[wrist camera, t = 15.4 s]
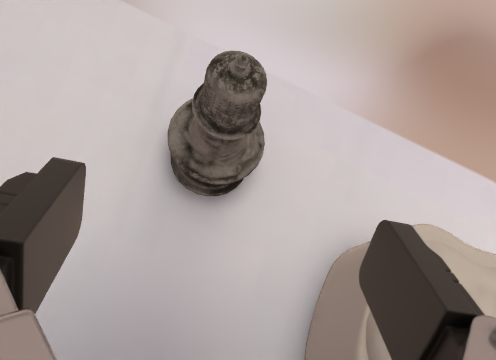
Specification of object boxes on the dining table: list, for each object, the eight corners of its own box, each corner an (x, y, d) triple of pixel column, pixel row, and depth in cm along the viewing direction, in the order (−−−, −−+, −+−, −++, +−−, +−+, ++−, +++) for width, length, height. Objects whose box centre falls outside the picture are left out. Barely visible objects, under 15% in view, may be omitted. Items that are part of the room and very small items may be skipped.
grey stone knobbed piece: (221, 217, 28) (265, 147, 17) (147, 166, 28) (142, 62, 17) (268, 151, 30) (334, 50, 19) (199, 104, 30) (225, -25, 19)
